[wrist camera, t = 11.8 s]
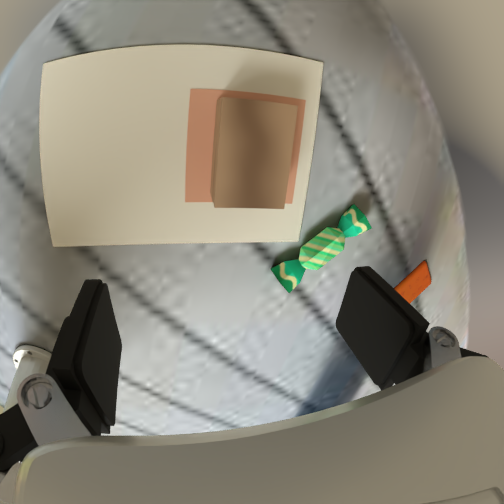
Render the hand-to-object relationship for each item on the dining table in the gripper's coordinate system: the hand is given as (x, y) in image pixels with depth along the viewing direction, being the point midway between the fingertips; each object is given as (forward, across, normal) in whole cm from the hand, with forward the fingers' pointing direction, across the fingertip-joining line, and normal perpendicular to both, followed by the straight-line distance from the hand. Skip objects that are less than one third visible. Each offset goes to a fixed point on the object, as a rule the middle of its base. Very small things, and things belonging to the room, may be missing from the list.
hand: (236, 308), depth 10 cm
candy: (+19, -14, +6) cm, 24 cm away
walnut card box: (+18, -4, -4) cm, 19 cm away
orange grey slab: (+19, -32, +17) cm, 41 cm away
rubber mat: (+19, +3, -4) cm, 19 cm away
